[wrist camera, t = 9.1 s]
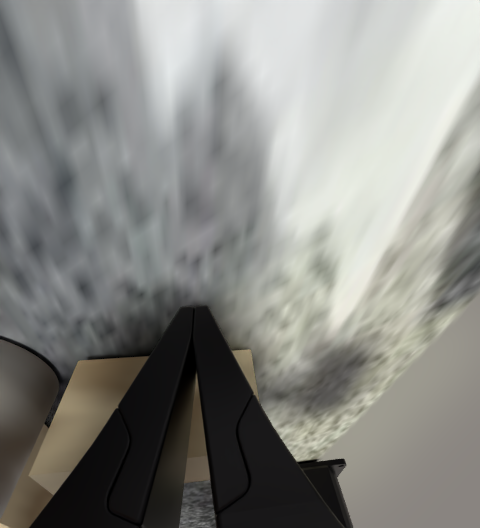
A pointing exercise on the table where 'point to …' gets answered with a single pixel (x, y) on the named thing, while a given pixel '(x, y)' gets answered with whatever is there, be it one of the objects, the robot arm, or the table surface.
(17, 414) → the stool base
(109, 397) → the folding leg
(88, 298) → the table surface
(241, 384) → the robot arm
